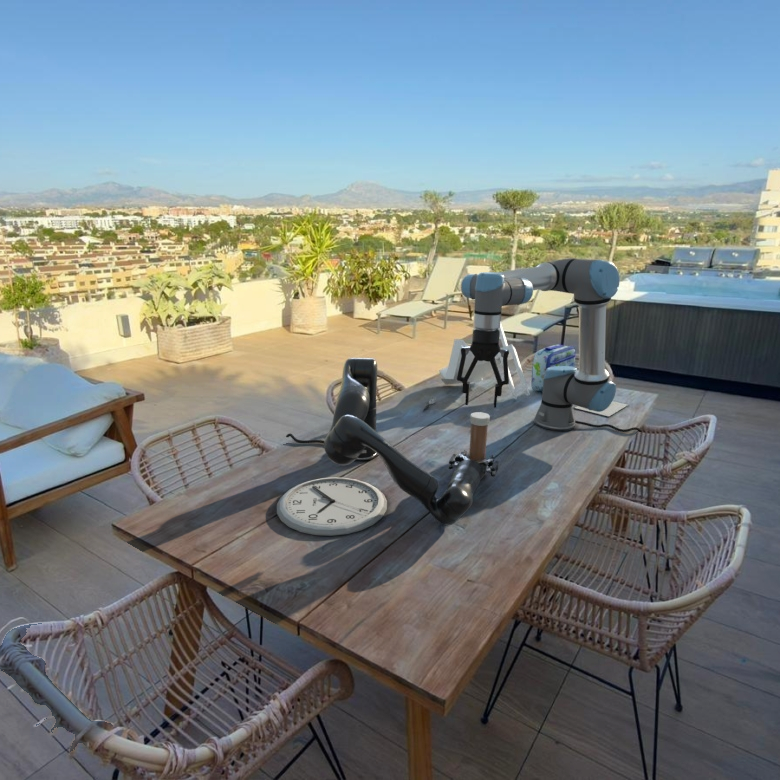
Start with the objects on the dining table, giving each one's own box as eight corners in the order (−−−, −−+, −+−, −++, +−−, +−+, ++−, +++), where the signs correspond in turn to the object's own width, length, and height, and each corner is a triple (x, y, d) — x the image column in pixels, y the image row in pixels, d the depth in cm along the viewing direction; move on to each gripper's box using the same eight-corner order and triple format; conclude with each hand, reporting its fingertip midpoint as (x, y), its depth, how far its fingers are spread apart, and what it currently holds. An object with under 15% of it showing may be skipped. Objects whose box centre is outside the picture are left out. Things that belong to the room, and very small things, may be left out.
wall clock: (392, 527, 129) (268, 531, 127) (391, 533, 130) (269, 537, 127) (383, 473, 158) (282, 475, 155) (383, 478, 158) (282, 480, 156)
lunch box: (547, 397, 237) (552, 352, 231) (526, 391, 245) (531, 348, 238) (574, 386, 255) (580, 344, 249) (554, 381, 262) (559, 340, 256)
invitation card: (608, 416, 214) (573, 407, 224) (608, 416, 214) (573, 408, 224) (628, 404, 229) (594, 396, 238) (628, 405, 229) (594, 397, 238)
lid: (492, 425, 154) (493, 417, 154) (474, 426, 153) (475, 419, 152) (484, 418, 159) (484, 411, 159) (467, 419, 158) (467, 412, 157)
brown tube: (486, 478, 160) (491, 418, 154) (471, 480, 159) (475, 420, 153) (479, 471, 164) (484, 413, 158) (465, 473, 163) (469, 414, 157)
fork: (420, 411, 216) (420, 406, 216) (430, 400, 230) (431, 395, 230) (426, 412, 215) (426, 407, 215) (436, 401, 230) (436, 396, 229)
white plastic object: (461, 429, 252) (437, 405, 227) (444, 352, 274) (420, 323, 250) (535, 404, 240) (518, 377, 215) (510, 326, 262) (492, 293, 237)
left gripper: (441, 485, 150) (455, 462, 165) (490, 494, 146) (500, 470, 160) (442, 461, 148) (456, 440, 163) (493, 470, 143) (502, 447, 158)
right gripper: (523, 328, 149) (516, 404, 156) (451, 324, 153) (448, 398, 160) (523, 333, 142) (516, 412, 149) (448, 328, 146) (444, 405, 153)
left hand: (478, 455), depth 161 cm, fingers open, 7 cm apart
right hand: (480, 404), depth 154 cm, fingers open, 7 cm apart
